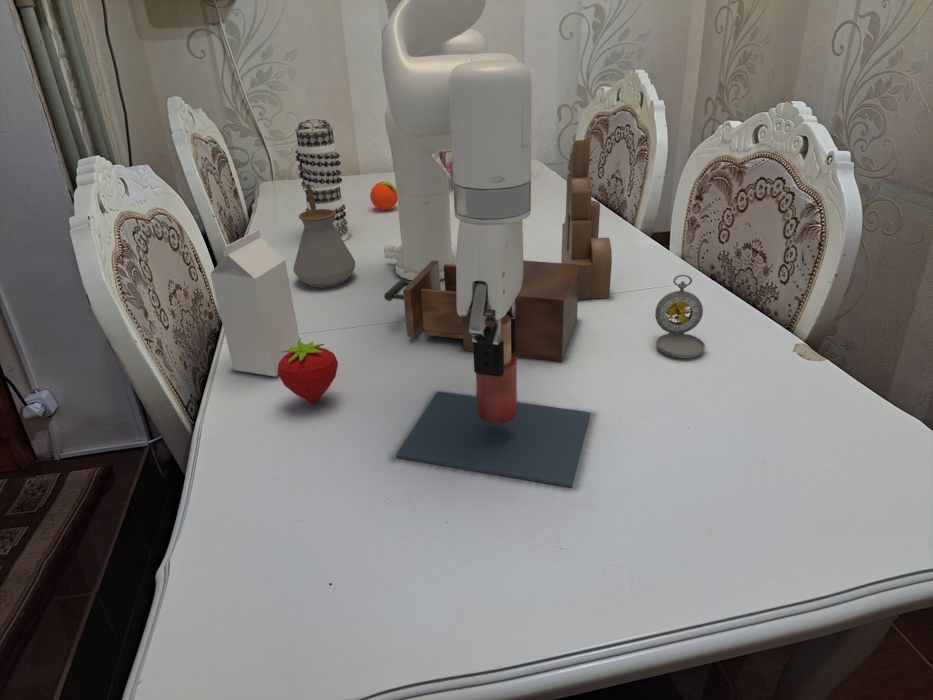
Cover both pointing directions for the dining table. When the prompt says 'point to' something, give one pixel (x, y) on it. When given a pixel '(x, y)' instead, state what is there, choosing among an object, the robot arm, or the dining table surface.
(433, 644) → the dining table surface
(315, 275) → the coffee pot
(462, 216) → the robot arm
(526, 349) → the cabinet
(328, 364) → the strawberry
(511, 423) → the mat
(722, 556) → the dining table surface
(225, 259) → the milk carton
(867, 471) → the dining table surface
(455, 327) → the drawer
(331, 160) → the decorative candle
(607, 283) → the wooden toy
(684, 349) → the pocket watch
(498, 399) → the red cylinder
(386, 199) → the clementine
